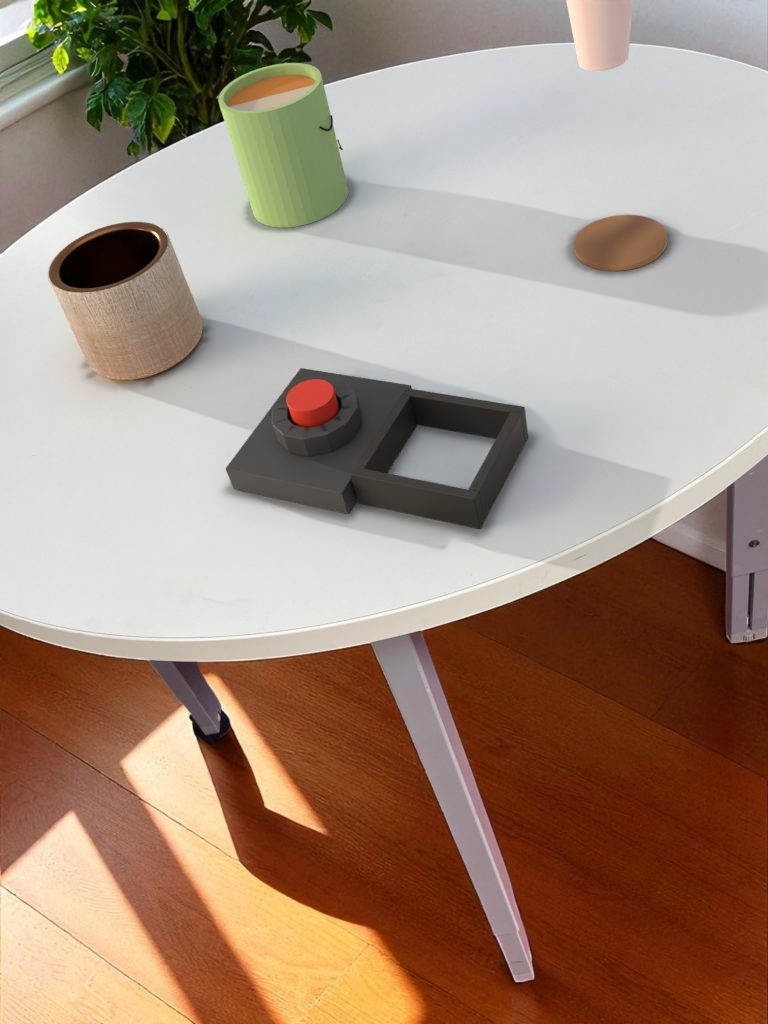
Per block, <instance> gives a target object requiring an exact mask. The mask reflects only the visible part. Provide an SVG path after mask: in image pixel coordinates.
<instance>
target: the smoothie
mask: <svg viewBox="0 0 768 1024" xmlns="http://www.w3.org/2000/svg"><path fill="white" fill-rule="evenodd" d="M565 2H566V6H567V11H568V17H569V21H570V26H571V32H572V38H573V42H574V47H575V53H576V57H577V63H578V64H577V65H578V66H579V67H580V68H581V69H583V70H585V71H591V72H603V71H604V72H605V71H609V70H613V69H616V68H618V67H621V66H622V65H624V64H625V63H626V62H627V61H628V60H629V52H630V43H631V42H630V41H631V32H632V21H633V11H634V10H633V9H634V0H566V1H565Z"/></svg>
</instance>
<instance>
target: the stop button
mask: <svg viewBox="0 0 768 1024" xmlns="http://www.w3.org/2000/svg"><path fill="white" fill-rule="evenodd" d="M286 401H287V405H288V408H289V411H290V414H291V417H292V420H293V422H294V423H295V424H296V425H297V426H300V427H306V428H310V427H315V426H320V425H323V424H325V423H327V422H328V421H330V420H332V419H333V418H335V417H336V415H337V414H338V411H339V405H338V402H337V398H336V395H335V392H334V388H333V386H332V385H331V384H330V383H329V382H327V381H325V380H321V379H312V380H307V381H304V382H301V383H299V384H297V385H296V386H294V387H293V388H292V389H291V390H290V391H289V393H288V395H287V398H286Z"/></svg>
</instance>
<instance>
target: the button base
mask: <svg viewBox="0 0 768 1024" xmlns="http://www.w3.org/2000/svg"><path fill="white" fill-rule="evenodd" d="M312 379H321V380H325V381H327V382H329V383H330V384H331V385H332V386H333V388H334V392H335V395H336V398H337V402H338V405H339V411H338V414H337V415H336V417H335V418H333V419H332V420H330V421H328V422H327V423H325V424H323V425H320V426H315V427H310V428H306V427H300V426H297V425H296V424H295V423H294V422H293V420H292V417H291V414H290V411H289V408H288V405H287V401H286V398H287V395H288V393H289V391H290V390H291V389H292V388H293V387H294V386H296V385H297V384H299V383H301V382H304V381H307V380H312ZM405 388H409V389H413V387H412V385H410V384H405V383H400V382H399V383H398V382H393V381H387V380H386V381H385V380H381V379H373V378H366V377H361V376H360V377H359V376H355V375H348V374H341V373H335V372H328V371H323V370H315V369H311V368H303V367H300V368H299V370H298V371H297V372H296V374H295V375H294V376H293V377H292V379H291V380H290V382H289V383H288V384H287V386H286V387H285V389H284V390H283V391H282V392H281V394H280V395H279V397H278V398H277V399H276V400H275V402H274V403H273V404H272V405H271V407H270V409H269V410H268V411H267V412H266V413H265V414H264V416H263V417H262V419H261V420H260V422H259V423H258V424H257V425H256V427H255V429H253V431H252V432H251V434H250V435H249V436H248V438H247V439H246V440H245V442H244V443H243V445H242V446H241V447H240V448H239V449H238V451H237V453H236V454H235V455H234V456H233V458H232V459H231V460H230V462H228V464H227V465H226V467H225V471H226V473H227V474H226V475H227V476H228V478H229V481H230V484H231V487H232V489H233V490H236V491H241V492H245V493H250V494H255V495H260V496H264V497H268V498H273V499H277V500H282V501H287V502H290V503H291V502H292V503H295V504H301V505H305V506H309V507H314V508H317V509H318V508H319V509H323V510H327V511H332V512H336V513H340V514H345V515H348V514H349V513H350V512H351V511H352V509H353V507H354V506H355V504H356V503H357V502H358V500H357V497H356V493H355V490H354V487H353V483H352V480H351V477H350V473H351V471H352V470H353V468H354V467H355V465H356V464H357V462H358V461H359V459H360V458H361V456H362V454H363V453H364V451H365V450H366V448H367V447H368V445H369V444H370V442H371V441H372V439H373V438H374V436H375V434H376V433H377V431H378V430H379V428H380V427H381V425H382V424H383V422H384V421H385V419H386V417H387V416H388V414H389V413H390V411H391V410H392V408H393V407H394V405H395V404H396V402H397V401H398V399H399V397H400V396H401V395H402V393H403V391H404V390H405Z"/></svg>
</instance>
